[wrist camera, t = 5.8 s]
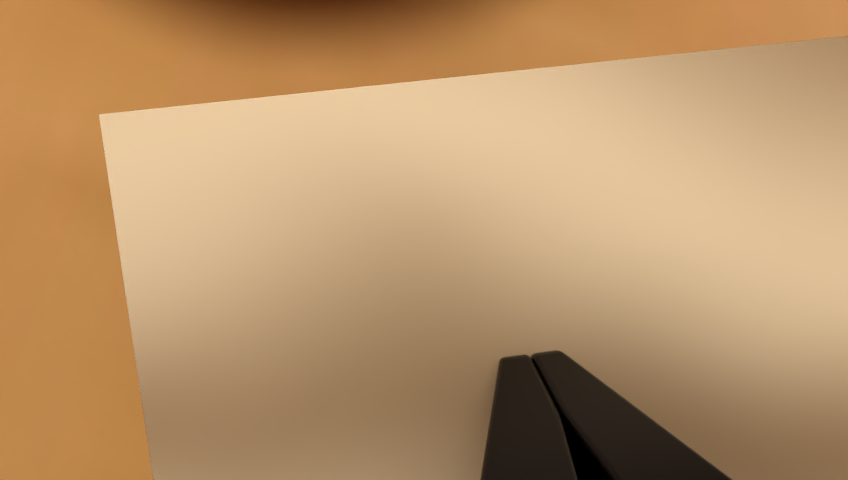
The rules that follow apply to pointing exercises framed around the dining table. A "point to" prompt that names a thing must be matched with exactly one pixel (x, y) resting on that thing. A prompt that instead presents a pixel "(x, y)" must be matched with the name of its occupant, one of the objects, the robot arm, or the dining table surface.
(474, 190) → the lid
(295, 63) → the dining table surface
